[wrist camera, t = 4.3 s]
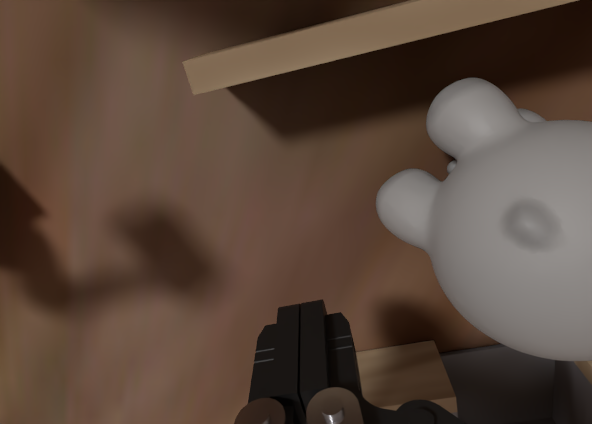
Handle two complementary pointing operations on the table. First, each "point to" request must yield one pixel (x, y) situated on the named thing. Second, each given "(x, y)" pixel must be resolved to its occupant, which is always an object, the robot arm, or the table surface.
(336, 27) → the trap channel
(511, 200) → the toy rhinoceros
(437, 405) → the robot arm
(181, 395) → the table surface
